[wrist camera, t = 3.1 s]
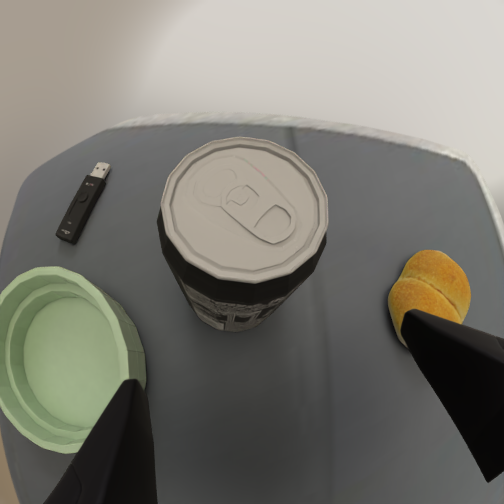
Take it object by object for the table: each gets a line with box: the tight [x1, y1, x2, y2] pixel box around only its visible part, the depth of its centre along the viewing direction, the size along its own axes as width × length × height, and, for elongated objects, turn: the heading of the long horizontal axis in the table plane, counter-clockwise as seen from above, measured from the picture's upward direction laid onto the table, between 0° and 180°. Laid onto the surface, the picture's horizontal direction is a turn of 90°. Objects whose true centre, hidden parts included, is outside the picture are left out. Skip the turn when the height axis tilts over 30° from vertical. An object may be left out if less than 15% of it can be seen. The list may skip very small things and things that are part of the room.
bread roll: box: [388, 250, 471, 348], centre depth 20 cm, size 8×9×4 cm
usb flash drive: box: [56, 162, 111, 244], centre depth 21 cm, size 8×2×1 cm, turn 165°
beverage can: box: [157, 137, 328, 332], centre depth 15 cm, size 7×7×12 cm
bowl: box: [0, 267, 146, 454], centre depth 15 cm, size 12×12×4 cm
